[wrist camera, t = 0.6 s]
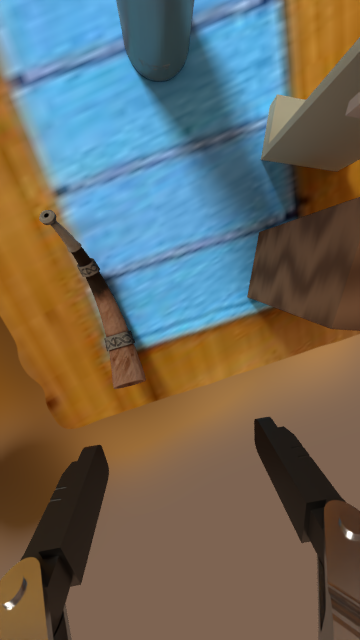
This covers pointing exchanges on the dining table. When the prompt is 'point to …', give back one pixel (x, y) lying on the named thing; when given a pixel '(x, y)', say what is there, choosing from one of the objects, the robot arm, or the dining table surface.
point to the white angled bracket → (319, 121)
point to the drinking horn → (104, 312)
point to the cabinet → (312, 267)
